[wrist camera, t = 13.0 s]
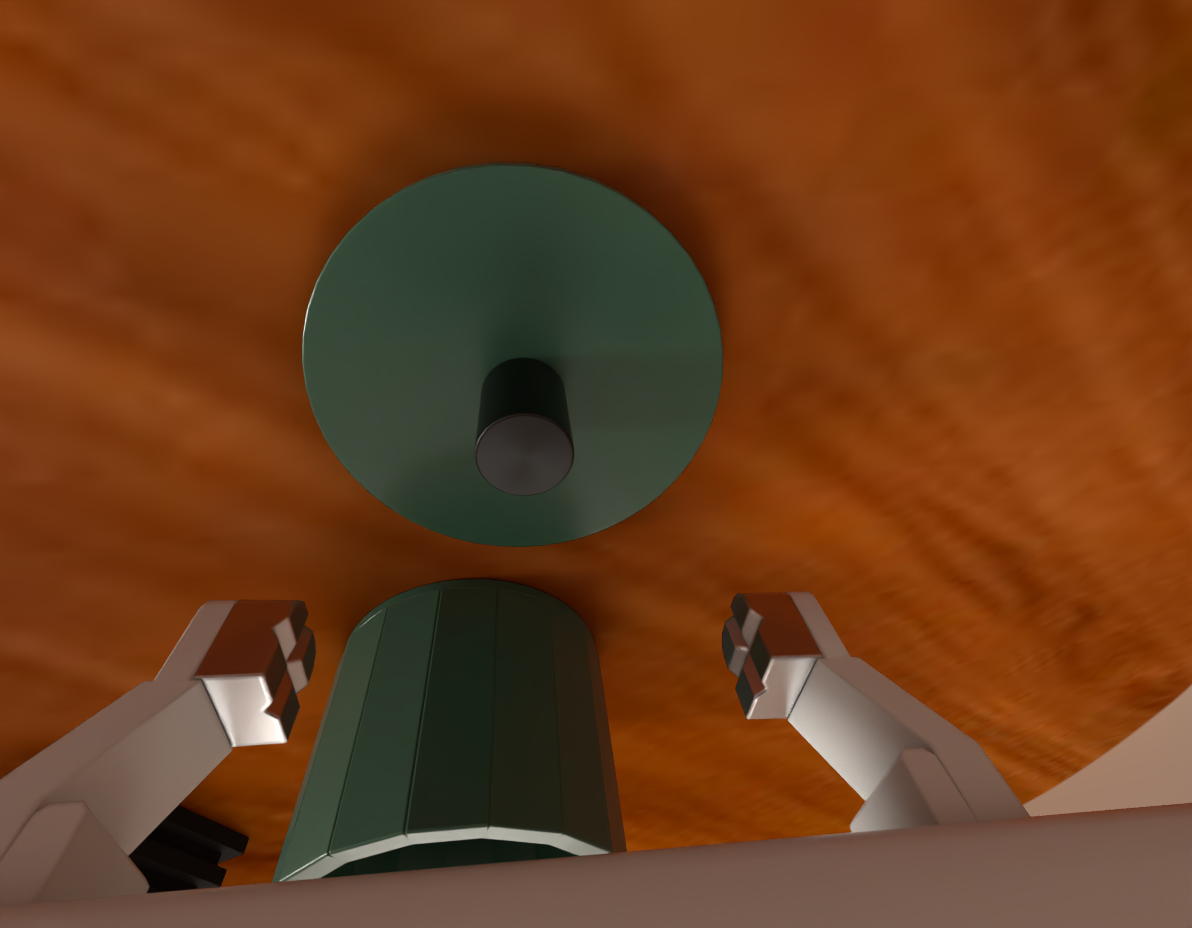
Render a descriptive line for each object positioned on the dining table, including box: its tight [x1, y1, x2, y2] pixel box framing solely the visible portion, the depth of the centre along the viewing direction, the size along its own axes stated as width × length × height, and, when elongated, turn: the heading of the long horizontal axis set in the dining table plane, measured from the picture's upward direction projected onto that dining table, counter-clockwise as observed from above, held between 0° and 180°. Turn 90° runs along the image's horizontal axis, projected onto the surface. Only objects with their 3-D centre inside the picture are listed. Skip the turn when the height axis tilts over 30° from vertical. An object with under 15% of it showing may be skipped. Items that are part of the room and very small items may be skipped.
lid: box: [302, 162, 723, 547], centre depth 16 cm, size 13×13×5 cm
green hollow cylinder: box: [272, 579, 627, 883], centre depth 22 cm, size 12×12×10 cm
